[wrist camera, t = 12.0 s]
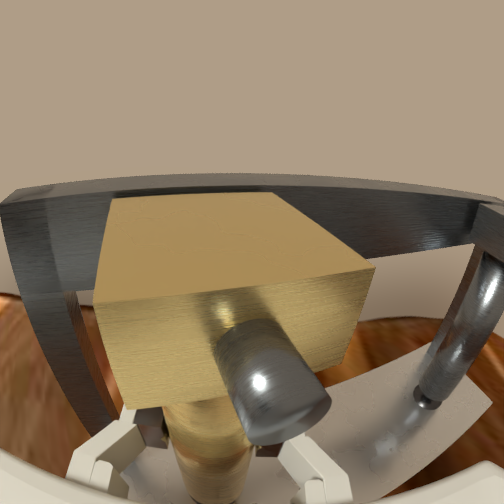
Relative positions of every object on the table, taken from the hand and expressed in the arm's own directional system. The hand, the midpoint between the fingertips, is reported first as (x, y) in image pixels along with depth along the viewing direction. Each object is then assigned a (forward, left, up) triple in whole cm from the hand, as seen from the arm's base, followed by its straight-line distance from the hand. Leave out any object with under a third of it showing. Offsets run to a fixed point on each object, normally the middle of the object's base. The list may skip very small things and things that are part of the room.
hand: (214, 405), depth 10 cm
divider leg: (-2, 0, -8) cm, 8 cm away
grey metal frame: (-1, -9, -9) cm, 13 cm away
